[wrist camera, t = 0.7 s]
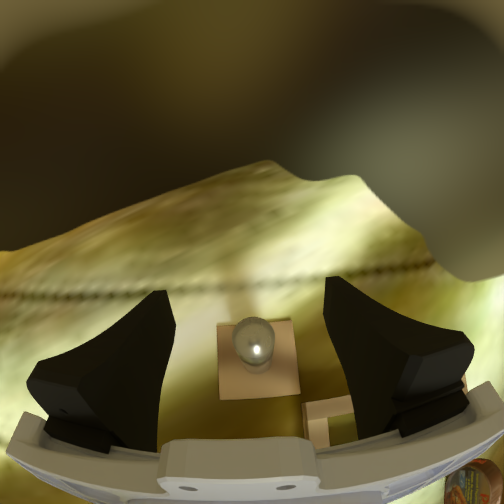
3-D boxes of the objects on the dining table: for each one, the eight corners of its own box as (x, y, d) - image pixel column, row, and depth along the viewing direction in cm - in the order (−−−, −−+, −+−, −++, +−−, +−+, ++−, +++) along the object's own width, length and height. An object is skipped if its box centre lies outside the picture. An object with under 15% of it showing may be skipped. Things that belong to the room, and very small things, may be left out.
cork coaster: (300, 393, 25) (300, 393, 25) (220, 400, 25) (219, 399, 25) (291, 321, 29) (291, 320, 29) (217, 327, 29) (217, 326, 29)
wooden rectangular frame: (453, 427, 20) (471, 426, 17) (307, 473, 20) (312, 481, 17) (445, 367, 24) (462, 360, 21) (301, 403, 24) (305, 402, 21)
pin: (273, 372, 26) (277, 355, 18) (243, 375, 26) (232, 359, 18) (270, 345, 27) (272, 315, 19) (241, 347, 27) (230, 318, 19)
